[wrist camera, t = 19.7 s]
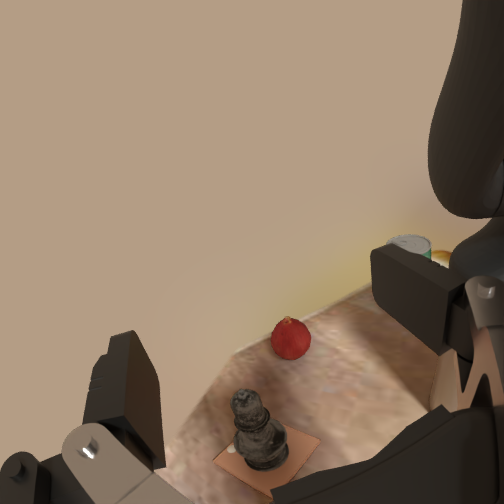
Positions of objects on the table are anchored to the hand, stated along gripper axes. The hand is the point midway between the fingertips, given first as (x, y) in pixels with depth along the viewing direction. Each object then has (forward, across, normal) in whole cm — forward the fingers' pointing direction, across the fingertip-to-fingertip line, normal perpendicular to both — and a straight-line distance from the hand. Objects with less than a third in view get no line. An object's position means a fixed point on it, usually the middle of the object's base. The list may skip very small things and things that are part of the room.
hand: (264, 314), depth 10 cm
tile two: (+13, +2, +28) cm, 31 cm away
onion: (+28, -7, +28) cm, 40 cm away
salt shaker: (+13, +2, +28) cm, 30 cm away
